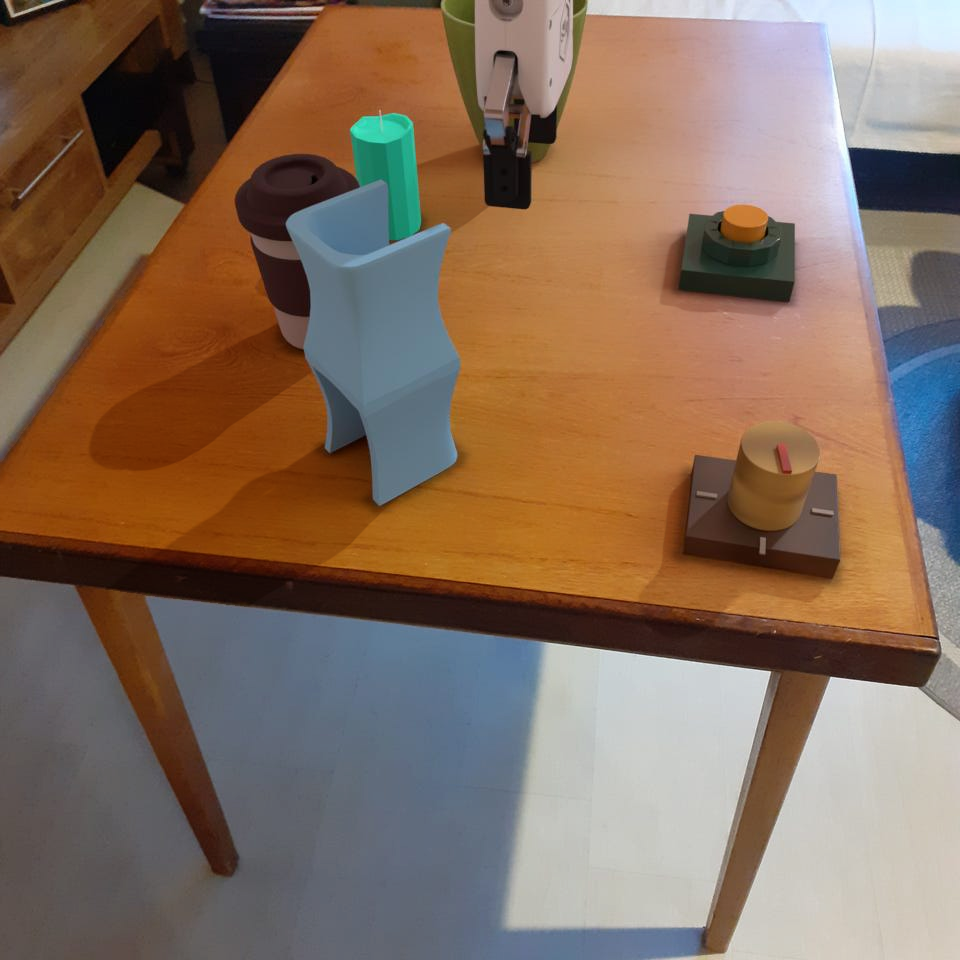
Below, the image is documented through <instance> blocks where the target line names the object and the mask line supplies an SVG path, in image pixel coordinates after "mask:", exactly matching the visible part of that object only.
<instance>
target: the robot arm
mask: <svg viewBox="0 0 960 960" xmlns="http://www.w3.org/2000/svg"><path fill="white" fill-rule="evenodd" d="M572 59H573V0H475V66H476V85H477V97H478V104H479V106H480V108H481V109H482V110H483V111H484V122H485V129H484V131H483V136H484V138H483V139H484V141H483V151H482V162H483V164H482V166H483V194H484V195H483V196H484V197H483V198H484V203H485V205H486V206H488V207H492V208H503V209H514V210H515V209H516V210H528V209H529V208H530V207H531V204H532V177H533V176H532V173H533V171H532V170H533V165H532V164H533V163H532V151H527V145H528V142H529V143H542V144H551V145H553V144H554V143H555V142H556V140H557V138H558V137H557V136H558V135H557V133H558V132H557V131H558V127H557V104H558V100H559V98H560V95H561V93H562V91H563V88H564V86H565V83H566V81H567V78H568V76H569V73H570V70H571V66H572ZM511 99H514V104H510V101H511ZM509 118H514V127H513V126H508V124H509Z"/></svg>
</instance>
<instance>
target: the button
mask: <svg viewBox="0 0 960 960" xmlns="http://www.w3.org/2000/svg"><path fill="white" fill-rule="evenodd" d="M723 211H724V213H723V218H722V224H721V229H720V231H721V234H722V235H723V236H724V237H725V238H728V239H730V240H733V241H736V242H746V243H751V242H756V241H760V240H761V239H763V237H764V235H765V231H766V226H767V222H768V216H769V215H768V214H767V212H766V211H765V210H764V209H762V208H760V207H758V206H756V205H751V204H735V205H731V206H729V207H727V208H725V210H723Z"/></svg>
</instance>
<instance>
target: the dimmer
mask: <svg viewBox="0 0 960 960" xmlns="http://www.w3.org/2000/svg"><path fill="white" fill-rule="evenodd" d="M735 463H736V459H729V458H722V457H716V456H715V457H714V456H708V455H701V454H700V455H699V454H694V458H693V462H692V468H691V473H690V482H689V489H688V491H689V492H688V499H687V508H686V519H685V527H684V528H685V529H684V538H683V545H682V555H683V556H690V557H695V558H696V557H697V558H703V559H708V560H709V559H711V560H716V561H721V562H728V563H735V564H741V565H746V566H753V567H758V568H764V569H765V568H766V569H771V570H777V571H783V572H791V573H796V574H802V575H803V574H804V575H809V576H815V577H821V578H827V579H834V577H835V575H836V572H837V571H838V567H839V565H840V562H841V541H840V539H841V538H840V537H841V536H840V514H839V492H838V491H839V490H838V488H839V487H838V474H836V473H829V472H823V471H815V473H814V476H813V479H812V482H811V485H810V488H809V491H808V494H807V497H806V500H805V503H804V506H803V509H802V512H801V515H800V517H799V519H798V520H797V521H796V522H795V523H794V524H793V525H791V526H790V527H788V528H785V529H782V530H776V531H765V530H759V529H755V528H753V527H750V526H748V525H746V524H744V523H742V522H741V521H740V520H738V519H737V518H736V517H735V516H734V515H733V513H732V512H731V510H730V508H729V506H728V502H727V497H728V492H729V488H730V484H731V480H732V476H733V471H734V467H735Z"/></svg>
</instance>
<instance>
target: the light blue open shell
mask: <svg viewBox="0 0 960 960" xmlns="http://www.w3.org/2000/svg"><path fill="white" fill-rule="evenodd" d="M286 227H287V230H288V232H289V234H290V237H291V239H292V241H293V243H294V245H295V247H296V250H297V252H298V254H299V257H300V259H301V261H302V264H303V267H304V270H305V273H306V275H307V279H308V283H309V287H310V298H311V309H310V320H309V325H308V330H307V334H306V338H305V342H304V347H303V348H304V350H303V352H304V358H305V360H306V361H307V364H308V365H309V367H310V369H311V371H312V373H313V375H314V377H315V379H316V382H317V384H318V386H319V389H320V392H321V394H322V397H323V400H324V404H325V408H326V409H325V410H326V419H327V420H326V421H327V422H326V423H327V424H326V426H327V427H326V436H325V443H324V449H325V450H326V451H327V452H328V453H329V454H332V453H334V452H336V451H337V450H340V449H341V448H343V447H345V446H347V445H349V444H351V443H353V442H356V441H357V440H359V439H361V438H363V437H365V436H366V440H367V445H368V449H369V456H370V457H369V458H370V464H371V481H372V482H371V483H372V500H373V501H374V503H375V504H376V505H378V507H381V506H382V505H384V504H386V503H388V502H390V501H392V500H393V499H395V498H397V497H399V496H401V495H402V494H404V493H406V492H408V491H410V490H412V489H414V488H415V487H417V486H419V485H421V484H422V483H424V482H426V481H428V480H430V479H431V478H433V477H435V476H437V475H438V474H440V473H443V472H444V471H446V470H447V469H449V468H450V467H452V466H453V465H454V464H455V463H456V462H457V459H458V451H457V448H456V445H455V442H454V438H453V434H452V429H451V406H452V400H453V394H454V392H455V391H454V390H455V388H456V384H457V380H458V377H459V374H460V370H461V356H460V355H459V353H458V351H457V349H456V347H455V346H454V343H453V341H452V340H451V338H450V335H449V333H448V331H447V328H446V326H445V323H444V320H443V317H442V313H441V307H440V301H439V282H440V281H439V280H440V276H441V269H442V264H443V259H444V256H445V252H446V248H447V245H448V242H449V239H450V235H451V231H452V228H451V227H450V226H448V224H446V223H445V222H441V223H439V224H437V225H433V226H432V227H429V228H426V229H425V230H423V231H420V232H418V233H417V232H416V233H414V234H413V235H412V236H410V237H407V238H403V239H400V240H397V241H396V242H393V243H392V244H390V240H389V230H388V184H387V183H385V182H384V181H383V180H378V181H376V182H373V183H370V184H368V185H365V186H363V187H360V188H357V189H355V190H352V191H350V192H347V193H344V194H342V195H339V196H337V197H334V198H331V199H329V200H326V201H323V202H321V203H318V204H316V205H313V206H310V207H308V208H305V209H303V210H301V211H298V212H296V213H294V214H292V215H291V216H290V217H289V218H288V220H287V222H286Z"/></svg>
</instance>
